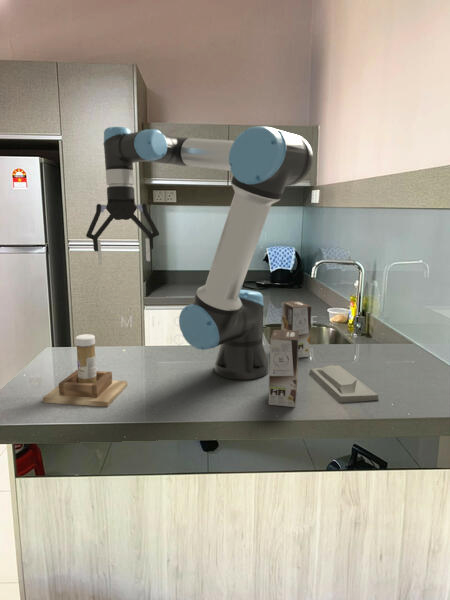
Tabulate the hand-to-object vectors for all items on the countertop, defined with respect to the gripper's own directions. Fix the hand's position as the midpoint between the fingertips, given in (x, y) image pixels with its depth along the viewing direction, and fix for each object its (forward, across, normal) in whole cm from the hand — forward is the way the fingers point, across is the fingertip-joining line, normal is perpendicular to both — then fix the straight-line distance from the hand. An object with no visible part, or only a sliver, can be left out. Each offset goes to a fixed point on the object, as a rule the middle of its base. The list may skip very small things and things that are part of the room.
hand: (124, 262), depth 132 cm
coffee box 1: (+31, -50, +7) cm, 60 cm away
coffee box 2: (+32, -32, +39) cm, 59 cm away
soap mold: (+32, -50, +35) cm, 69 cm away
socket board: (+30, +13, +22) cm, 39 cm away
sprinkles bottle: (+29, +12, +22) cm, 38 cm away
